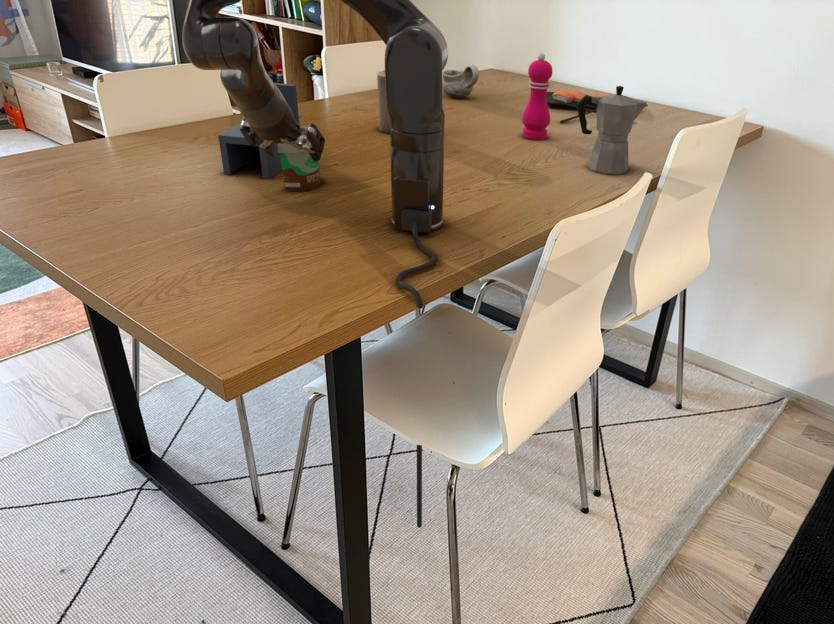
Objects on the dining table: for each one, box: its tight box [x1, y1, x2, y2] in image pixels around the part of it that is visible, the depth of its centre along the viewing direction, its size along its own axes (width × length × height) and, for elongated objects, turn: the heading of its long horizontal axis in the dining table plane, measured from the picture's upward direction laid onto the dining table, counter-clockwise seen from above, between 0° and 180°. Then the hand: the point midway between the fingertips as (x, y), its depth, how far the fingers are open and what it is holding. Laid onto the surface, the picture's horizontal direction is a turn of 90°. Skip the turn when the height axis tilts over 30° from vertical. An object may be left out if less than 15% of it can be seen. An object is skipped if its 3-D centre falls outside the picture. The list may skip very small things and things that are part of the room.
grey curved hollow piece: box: [442, 64, 480, 99], centre depth 211 cm, size 10×12×10 cm
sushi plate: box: [546, 90, 614, 124], centre depth 204 cm, size 29×30×4 cm
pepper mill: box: [521, 52, 553, 141], centre depth 175 cm, size 7×7×20 cm
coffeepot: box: [576, 85, 649, 175], centre depth 156 cm, size 15×9×18 cm, turn 88°
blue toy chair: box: [217, 82, 300, 179], centre depth 149 cm, size 18×10×15 cm, turn 170°
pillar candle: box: [376, 69, 390, 134], centre depth 176 cm, size 10×10×15 cm
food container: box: [278, 125, 321, 192], centre depth 140 cm, size 12×6×10 cm, turn 168°
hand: (296, 155), depth 135 cm, fingers open, 8 cm apart
